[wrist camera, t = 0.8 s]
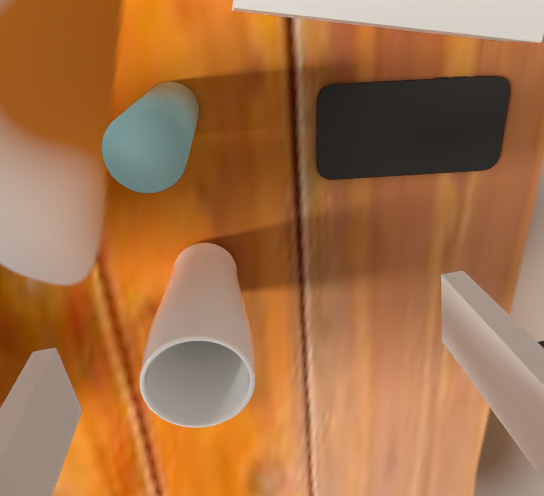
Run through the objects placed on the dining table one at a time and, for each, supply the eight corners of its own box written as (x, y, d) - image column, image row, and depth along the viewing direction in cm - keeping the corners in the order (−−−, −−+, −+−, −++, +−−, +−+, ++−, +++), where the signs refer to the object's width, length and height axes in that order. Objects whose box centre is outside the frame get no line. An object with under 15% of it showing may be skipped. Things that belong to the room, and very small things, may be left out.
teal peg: (144, 134, 36) (103, 190, 24) (144, 78, 35) (99, 106, 22) (198, 138, 37) (186, 195, 24) (200, 83, 35) (188, 113, 23)
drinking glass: (231, 310, 43) (236, 439, 30) (156, 291, 42) (125, 418, 28) (255, 244, 41) (273, 351, 27) (177, 222, 39) (154, 323, 26)
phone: (317, 84, 36) (513, 74, 37) (315, 83, 36) (507, 73, 37) (317, 181, 39) (498, 170, 40) (315, 178, 40) (492, 167, 40)
